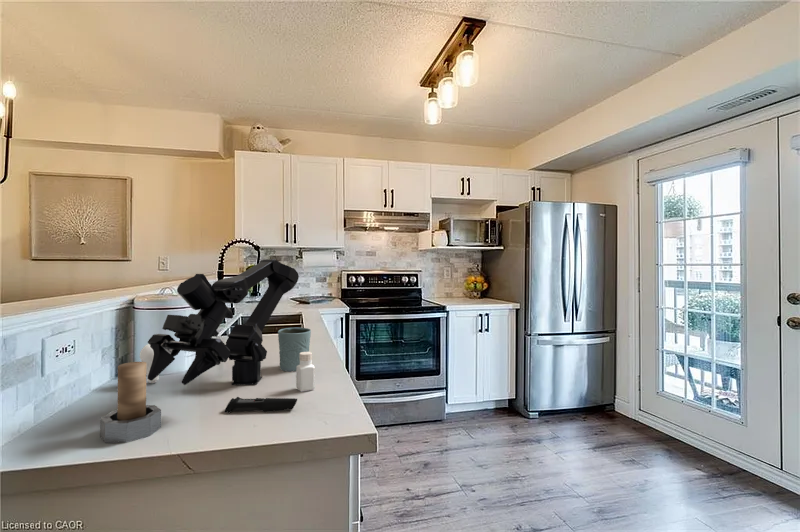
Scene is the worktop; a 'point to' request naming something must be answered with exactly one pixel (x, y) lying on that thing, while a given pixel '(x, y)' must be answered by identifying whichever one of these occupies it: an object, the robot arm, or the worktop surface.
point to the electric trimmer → (260, 404)
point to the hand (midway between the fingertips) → (166, 381)
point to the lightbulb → (148, 360)
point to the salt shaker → (305, 373)
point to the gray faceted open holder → (130, 426)
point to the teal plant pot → (292, 346)
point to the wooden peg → (131, 391)
